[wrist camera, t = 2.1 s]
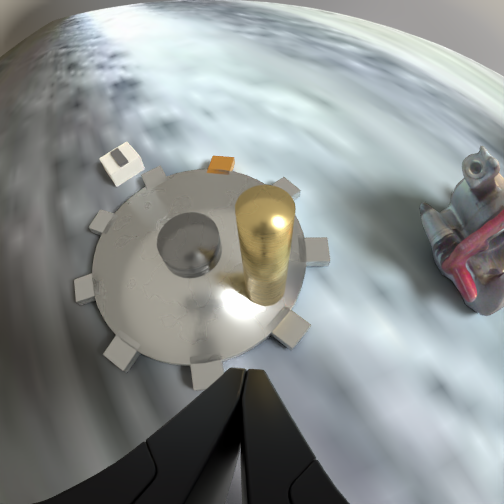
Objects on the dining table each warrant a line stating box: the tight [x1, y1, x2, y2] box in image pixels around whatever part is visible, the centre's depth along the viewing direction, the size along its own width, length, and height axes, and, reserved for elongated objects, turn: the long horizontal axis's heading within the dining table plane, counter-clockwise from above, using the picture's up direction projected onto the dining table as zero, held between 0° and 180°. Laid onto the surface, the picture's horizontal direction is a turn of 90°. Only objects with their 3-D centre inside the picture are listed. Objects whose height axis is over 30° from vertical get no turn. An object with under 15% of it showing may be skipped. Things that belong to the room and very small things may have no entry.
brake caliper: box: [420, 146, 504, 316], centre depth 18 cm, size 11×11×12 cm
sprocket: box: [74, 156, 330, 391], centre depth 18 cm, size 18×18×9 cm
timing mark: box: [100, 142, 145, 187], centre depth 26 cm, size 3×3×2 cm
